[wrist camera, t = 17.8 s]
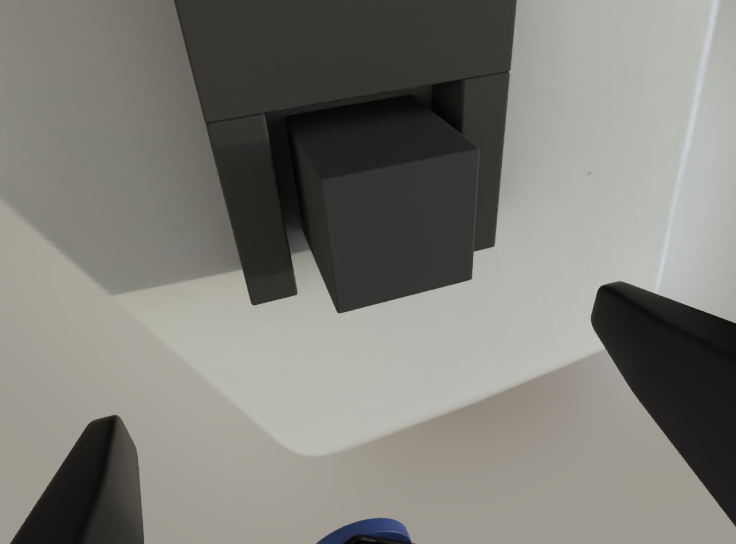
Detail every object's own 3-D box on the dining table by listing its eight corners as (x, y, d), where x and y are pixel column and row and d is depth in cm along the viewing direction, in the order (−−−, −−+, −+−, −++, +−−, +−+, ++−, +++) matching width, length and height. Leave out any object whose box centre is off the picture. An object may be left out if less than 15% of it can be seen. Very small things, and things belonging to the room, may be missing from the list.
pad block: (413, 207, 22) (472, 280, 18) (302, 231, 22) (337, 314, 17) (411, 93, 20) (480, 148, 15) (283, 116, 19) (319, 180, 14)
